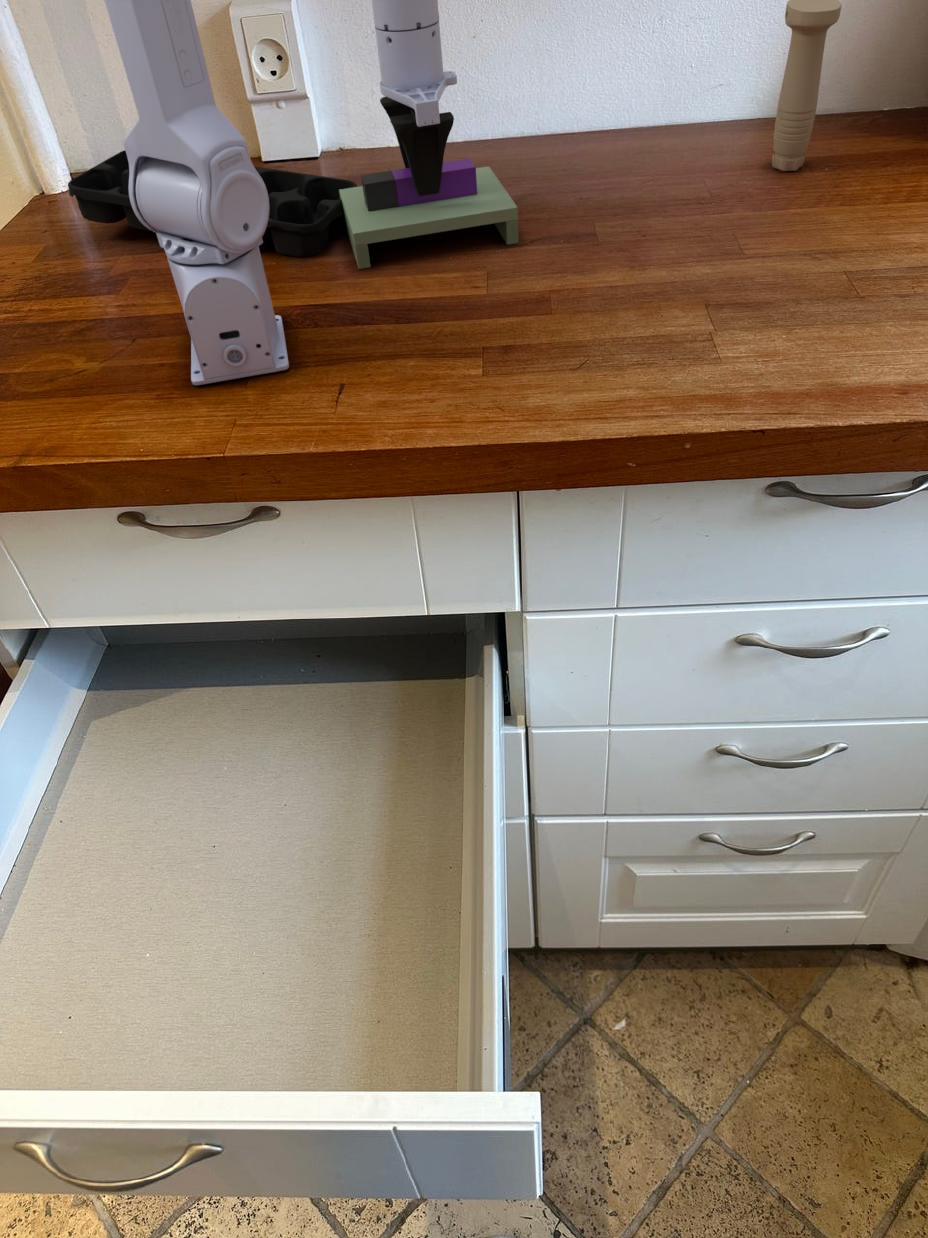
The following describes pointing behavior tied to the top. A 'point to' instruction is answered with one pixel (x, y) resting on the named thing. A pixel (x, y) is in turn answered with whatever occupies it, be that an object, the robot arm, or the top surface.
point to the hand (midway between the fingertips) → (423, 183)
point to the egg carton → (294, 198)
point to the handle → (801, 79)
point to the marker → (401, 190)
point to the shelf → (429, 216)
